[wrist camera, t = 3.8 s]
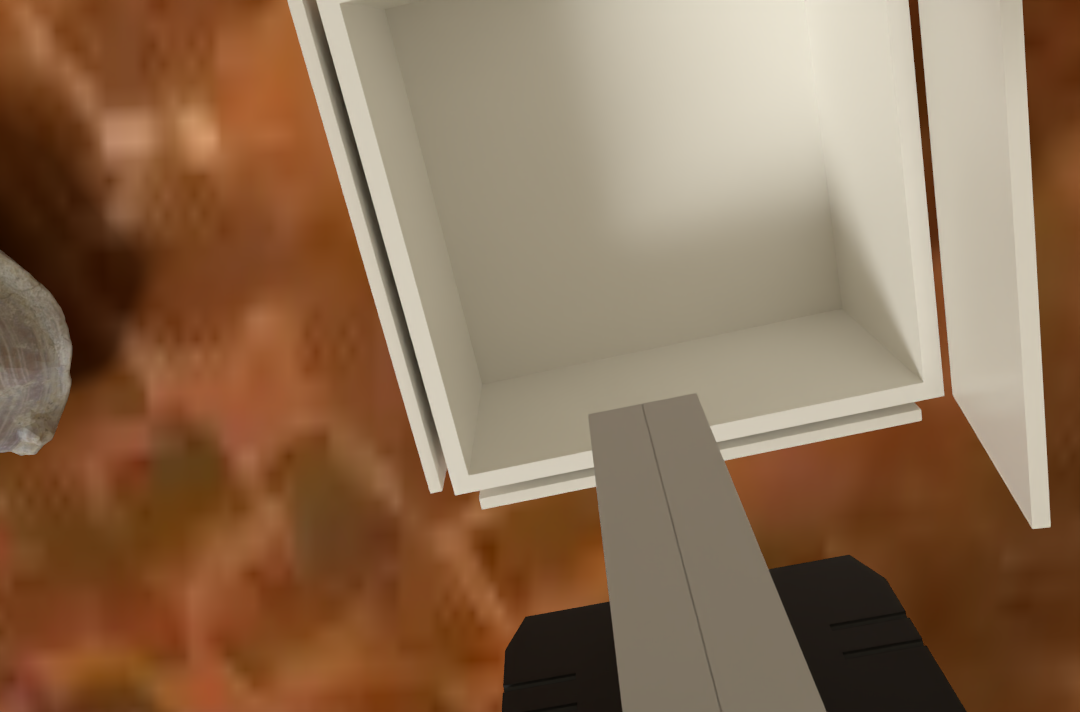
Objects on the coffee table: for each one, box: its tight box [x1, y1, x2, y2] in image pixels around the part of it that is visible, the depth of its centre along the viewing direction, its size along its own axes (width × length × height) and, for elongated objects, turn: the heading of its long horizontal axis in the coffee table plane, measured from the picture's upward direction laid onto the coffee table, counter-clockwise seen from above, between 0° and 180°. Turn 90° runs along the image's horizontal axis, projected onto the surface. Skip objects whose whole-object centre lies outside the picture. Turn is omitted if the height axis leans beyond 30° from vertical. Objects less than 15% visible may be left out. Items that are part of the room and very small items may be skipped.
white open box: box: [287, 0, 944, 509], centre depth 32 cm, size 17×18×9 cm
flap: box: [918, 0, 1051, 529], centre depth 23 cm, size 8×16×1 cm
